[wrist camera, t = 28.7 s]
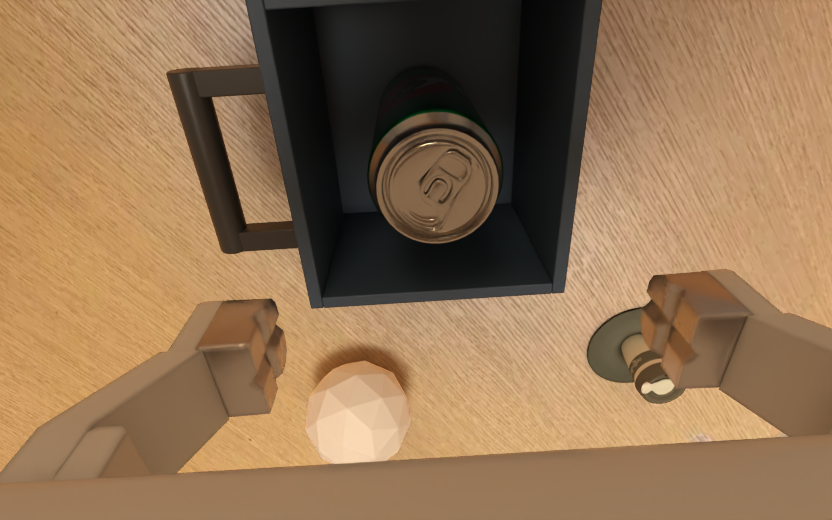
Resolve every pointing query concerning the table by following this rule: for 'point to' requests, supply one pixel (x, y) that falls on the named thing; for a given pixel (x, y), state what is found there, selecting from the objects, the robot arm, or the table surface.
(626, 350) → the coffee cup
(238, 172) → the table surface
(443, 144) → the soda can
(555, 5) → the handled storage box
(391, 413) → the geometric ball
